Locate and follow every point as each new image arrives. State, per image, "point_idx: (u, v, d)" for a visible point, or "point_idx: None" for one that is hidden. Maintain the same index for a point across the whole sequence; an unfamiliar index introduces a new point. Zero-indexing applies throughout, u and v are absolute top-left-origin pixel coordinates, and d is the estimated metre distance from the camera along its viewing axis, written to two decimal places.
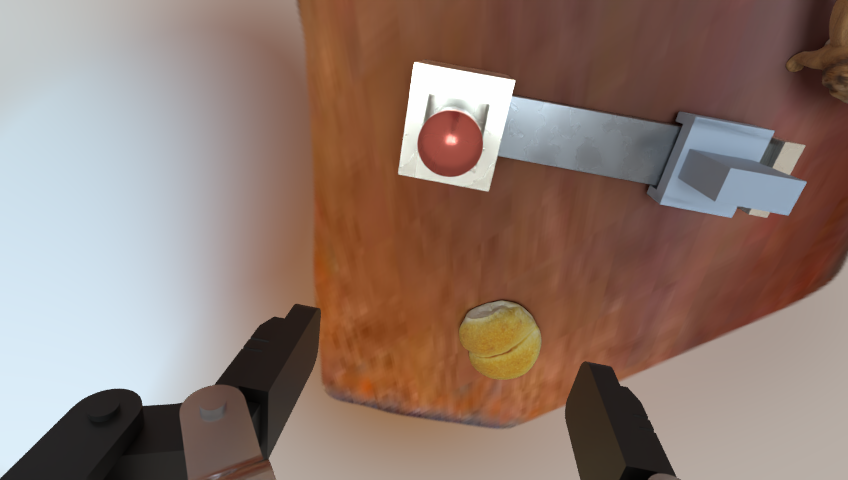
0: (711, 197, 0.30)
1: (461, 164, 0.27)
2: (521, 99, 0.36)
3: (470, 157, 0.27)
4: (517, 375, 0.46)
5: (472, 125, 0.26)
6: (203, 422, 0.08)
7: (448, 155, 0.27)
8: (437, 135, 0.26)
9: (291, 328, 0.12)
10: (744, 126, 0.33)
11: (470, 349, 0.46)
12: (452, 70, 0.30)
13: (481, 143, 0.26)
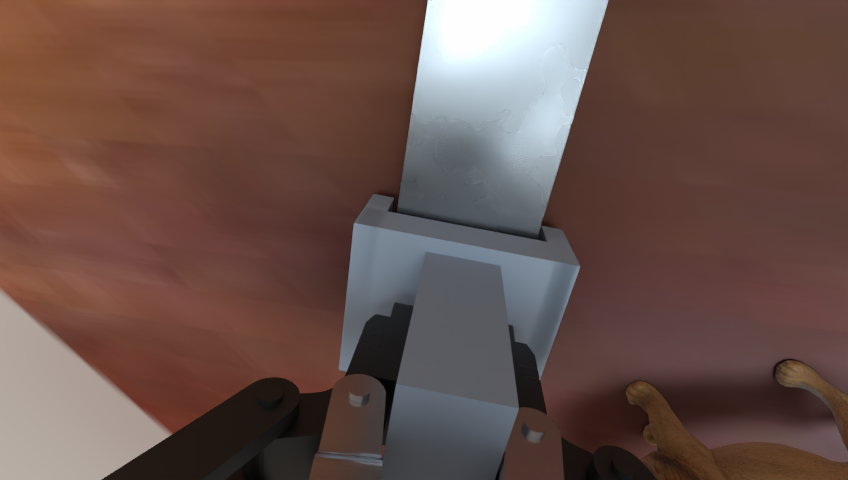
0: (405, 364, 0.09)
1: None
2: None
3: None
4: None
5: None
6: (356, 408, 0.09)
7: None
8: None
9: (399, 324, 0.12)
10: (544, 359, 0.15)
11: None
12: None
13: None
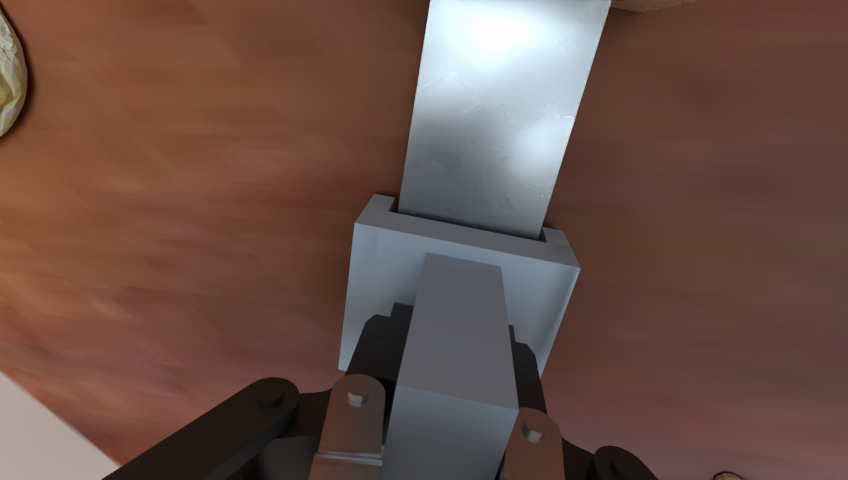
0: (406, 365, 0.09)
1: None
2: (590, 54, 0.13)
3: None
4: None
5: None
6: (355, 408, 0.09)
7: None
8: None
9: (399, 324, 0.12)
10: (544, 360, 0.15)
11: None
12: None
13: None
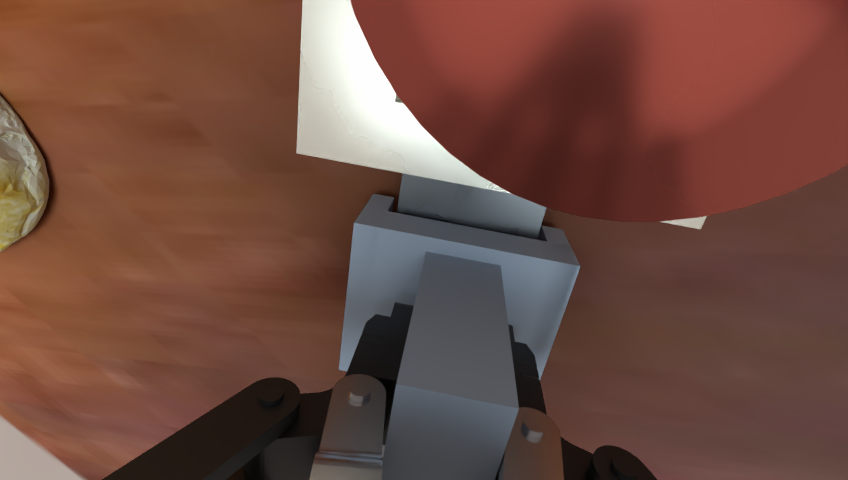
0: (406, 365, 0.09)
1: (466, 21, 0.03)
2: None
3: (533, 113, 0.03)
4: None
5: None
6: (356, 408, 0.09)
7: None
8: None
9: (399, 324, 0.12)
10: (544, 359, 0.15)
11: None
12: None
13: (654, 210, 0.03)
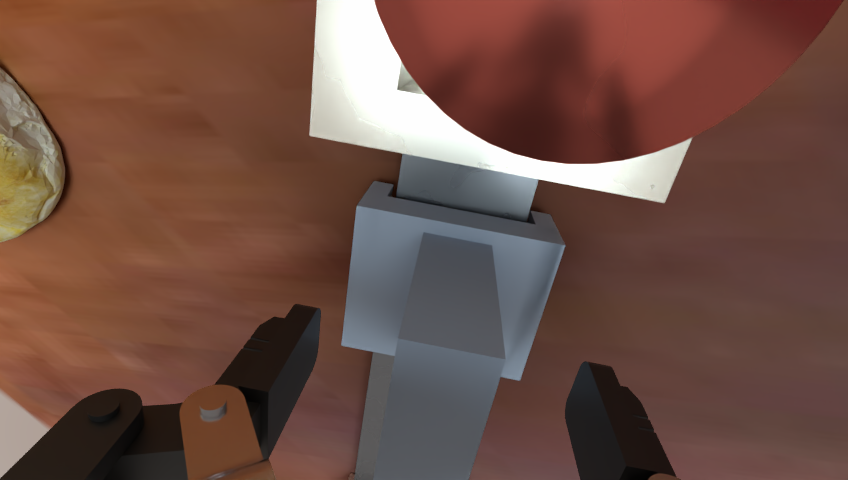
0: (406, 324, 0.10)
1: (456, 18, 0.04)
2: None
3: (503, 84, 0.04)
4: None
5: (727, 91, 0.04)
6: (203, 422, 0.08)
7: None
8: None
9: (291, 328, 0.12)
10: (533, 333, 0.16)
11: None
12: None
13: (591, 154, 0.04)
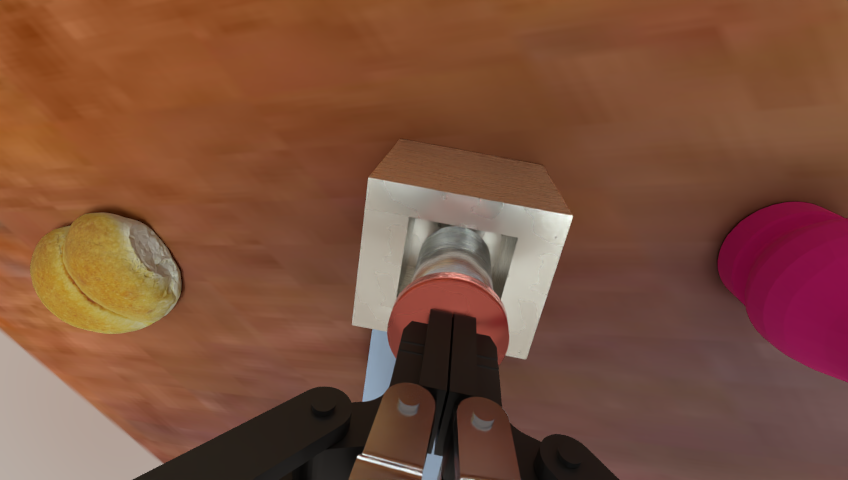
0: None
1: None
2: None
3: None
4: (53, 313, 0.28)
5: None
6: (408, 418, 0.09)
7: None
8: None
9: (438, 332, 0.12)
10: None
11: (69, 241, 0.26)
12: (551, 276, 0.18)
13: None
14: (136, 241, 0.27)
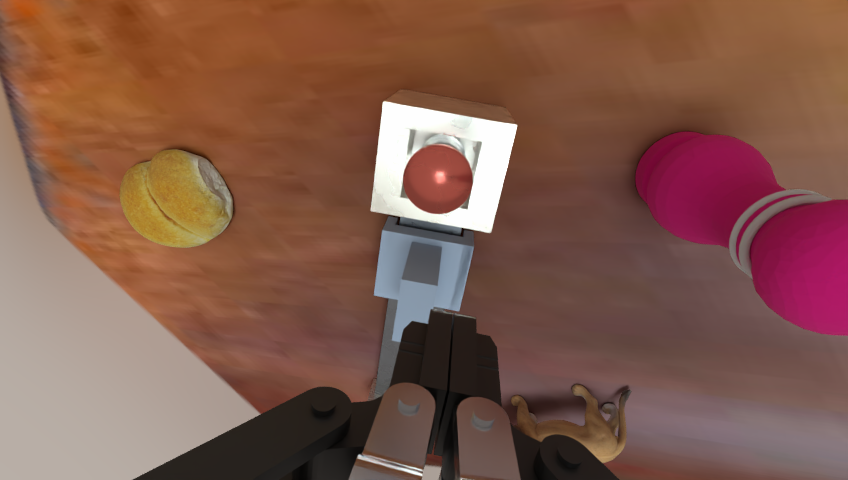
0: (404, 275, 0.29)
1: (417, 193, 0.25)
2: None
3: (424, 202, 0.26)
4: (136, 229, 0.37)
5: (458, 203, 0.25)
6: (408, 418, 0.09)
7: (426, 180, 0.25)
8: (447, 168, 0.25)
9: (438, 332, 0.12)
10: (463, 287, 0.35)
11: (153, 169, 0.35)
12: (505, 169, 0.27)
13: (439, 212, 0.26)
14: (202, 170, 0.35)
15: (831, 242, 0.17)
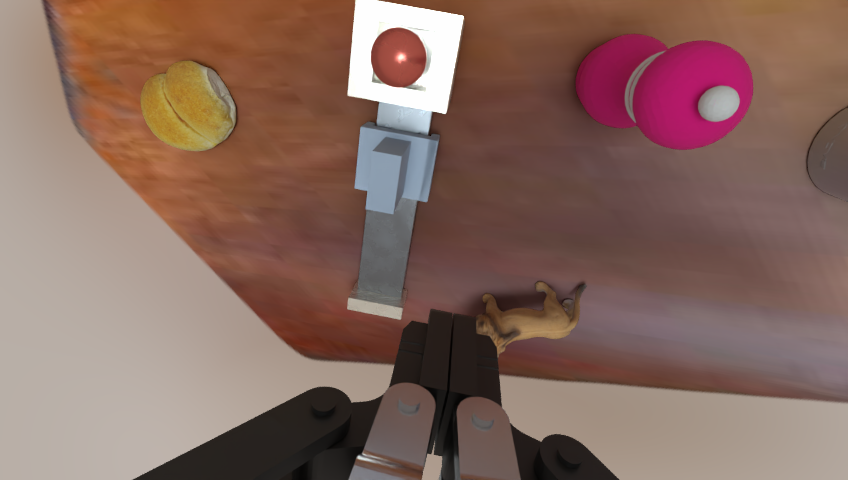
0: (375, 149, 0.35)
1: (382, 69, 0.32)
2: (429, 117, 0.41)
3: (388, 77, 0.32)
4: (154, 130, 0.43)
5: (415, 78, 0.32)
6: (408, 418, 0.09)
7: (389, 57, 0.31)
8: (405, 46, 0.31)
9: (438, 332, 0.12)
10: (430, 179, 0.41)
11: (169, 75, 0.41)
12: (455, 55, 0.33)
13: (400, 86, 0.32)
14: (210, 78, 0.42)
15: (674, 64, 0.23)
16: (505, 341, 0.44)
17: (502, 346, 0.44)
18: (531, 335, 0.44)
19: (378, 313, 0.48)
